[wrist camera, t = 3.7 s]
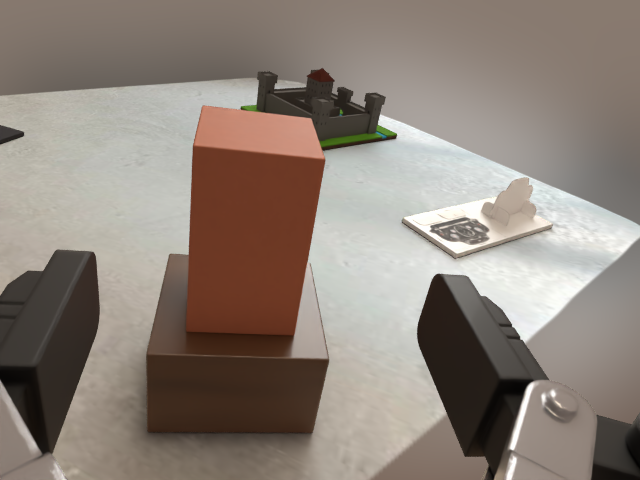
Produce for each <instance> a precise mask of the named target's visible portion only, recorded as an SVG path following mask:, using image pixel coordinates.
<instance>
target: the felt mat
mask: <svg viewBox="0 0 640 480" xmlns="http://www.w3.org/2000/svg"><path fill="white" fill-rule="evenodd" d="M21 136H24V132H22V131H19V130H15V129H12V128H8V127H5V126H1V125H0V144H1V143H4V142H7V141H10V140H13V139H16V138H18V137H21Z"/></svg>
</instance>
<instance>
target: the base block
mask: <svg viewBox="0 0 640 480" xmlns="http://www.w3.org/2000/svg"><path fill="white" fill-rule="evenodd" d="M188 263H189V255H183V254H170V255H169V258H168V262H167V267H166V271H165V275H164V280H163V284H162V288H161V293H160V297H159V301H158V306H157V310H156V314H155V319H154V323H153V327H152V332H151V336H150V340H149V345H148V349H147V353H146V375H147V431H148V432H278V433H312V432H313V430H314V425H315V421H316V416H317V412H318V408H319V403H320V399H321V394H322V390H323V386H324V381H325V377H326V373H327V368H328V364H329V356H328V351H327V346H326V340H325V335H324V330H323V325H322V320H321V315H320V309H319V304H318V299H317V294H316V289H315V284H314V279H313V273H312V268H311V264H310V263H307V267H306V273H305V279H304V284H303V290H302V296H301V301H300V307H299V313H298V318H297V324H296V330H295V335H294V336H287V335H261V334H235V333H209V332H187V331H186V316H187V289H188Z"/></svg>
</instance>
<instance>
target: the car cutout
mask: <svg viewBox="0 0 640 480" xmlns="http://www.w3.org/2000/svg"><path fill="white" fill-rule="evenodd" d="M532 191H533V186H532V185H529V178H520V179H516V180H514V181H512V182H511V184H510V185H509V187H508V188H507V190H506V191H502V192H501V193H500V194H499V195H498V196H496V197H492V198H487V199H483V200H478V201H474V202H469V203H465V204H461V205H456V206H452V207H447V208H443V209H438V210H434V211H430V212H425V213H421V214H416V215H412V216H407V217H403V219H402V222H403V223H404V224H406V225H407V226H409V227H410V228H412V229H413V230H415V231H416V232H418V233H419V234H421V235H422V236H424V237H425V238H426V239H428V240H429V241H431V242H432V243H434V244H435V245H437V246H438V247H440V248H441V249H443V250H444V251H446V252H447V253H449V254H450V255H452V256H453V257H454V258H458V257H461V256H464V255H467V254H470V253H473V252H477V251H480V250H483V249H486V248H489V247H493V246H496V245H499V244H502V243H505V242H508V241H512V240H515V239H518V238H521V237H524V236H527V235H531V234H534V233H537V232H540V231H543V230H546V229H550V228H552V226H553V224H552V223H550V222H548V221H547V220H545V219H543V218H541V217H539V216H537V215H535V213H536V207H535V205H534V204H532V203H530V201H529V198H530V196H531V194H532Z"/></svg>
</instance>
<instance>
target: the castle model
mask: <svg viewBox="0 0 640 480" xmlns="http://www.w3.org/2000/svg"><path fill="white" fill-rule="evenodd" d="M277 77H278V75H276V74H274V73H272V72H270V71H269V72H258V77H257V80H259V87H258V97H257V105H251V106H241V110H245V111H254V112H262V113H270V114H279V115H287V116H296V117H304V118H311V119H312V122H313V125H314V128H315V131H316V134H317V137H318V140H319V143H320V145H321V148H322V150H327V149H333V148H339V147H345V146H351V145H357V144H364V143H370V142H376V141H382V140H388V139H394V138H396V137H397V134H396V133H394V132H392V131H390V130H388V129H385V128H383V127H381V126H379V125H378V120H379V116H380V111H381V107H382V105H383V104H384V102H385V98H386V97H384V96H382V95H380V94H377V93H366V95H365V100H364V101H366V105H365V108H364V107H362V106H360V105H358V104H355V103H353V102H350V101H351V96H353V91H351V90H348V89H346V88H344V87H338V90H337V92H338V95H335V94H333V93H332V88H333V82H334V80H333V78H331V77H330V75H329V73H327V72H326V71H325V70H324V69H323V68H322V69H320V70H311V74H309V75H308V76H307V77H308V80H307V86H306V87H304V88H303V87H302V88H295V89H294V88H291V89H290V88H287V89H286V88H285V89H276V90H275V89H274V87H275V83H277Z"/></svg>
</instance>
